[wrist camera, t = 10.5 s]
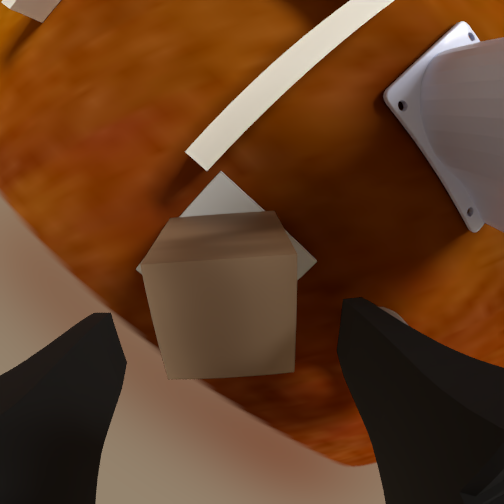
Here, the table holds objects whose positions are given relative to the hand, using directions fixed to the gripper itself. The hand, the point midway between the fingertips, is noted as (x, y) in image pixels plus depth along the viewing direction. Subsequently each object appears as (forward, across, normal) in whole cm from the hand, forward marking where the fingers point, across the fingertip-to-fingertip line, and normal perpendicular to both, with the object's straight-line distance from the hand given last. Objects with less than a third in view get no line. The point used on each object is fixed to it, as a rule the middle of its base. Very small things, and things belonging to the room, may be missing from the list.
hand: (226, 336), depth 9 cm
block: (+5, 0, 0) cm, 5 cm away
